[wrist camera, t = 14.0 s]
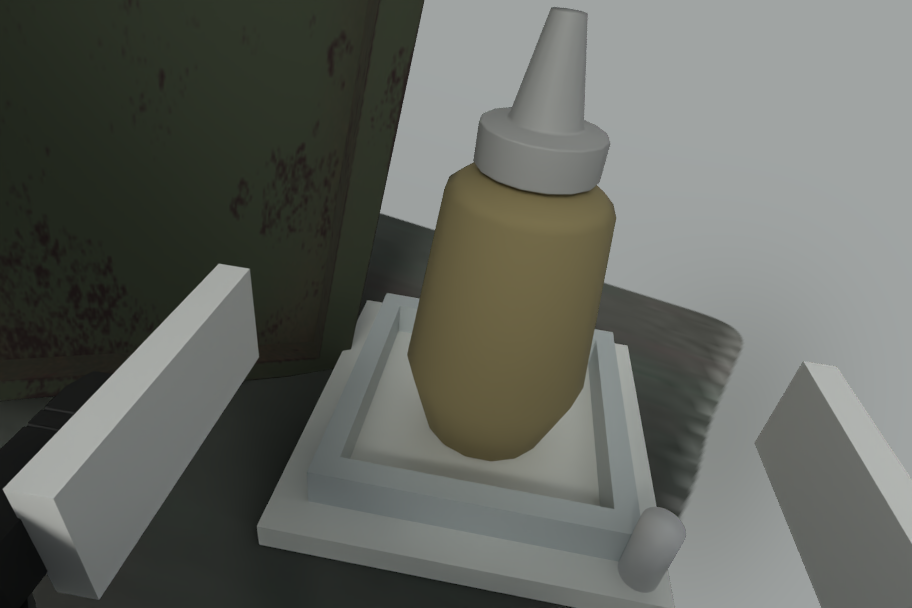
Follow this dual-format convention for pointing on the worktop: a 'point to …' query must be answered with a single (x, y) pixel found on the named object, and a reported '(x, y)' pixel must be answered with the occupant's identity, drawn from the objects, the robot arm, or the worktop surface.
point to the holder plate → (477, 485)
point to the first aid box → (190, 172)
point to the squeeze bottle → (517, 263)
